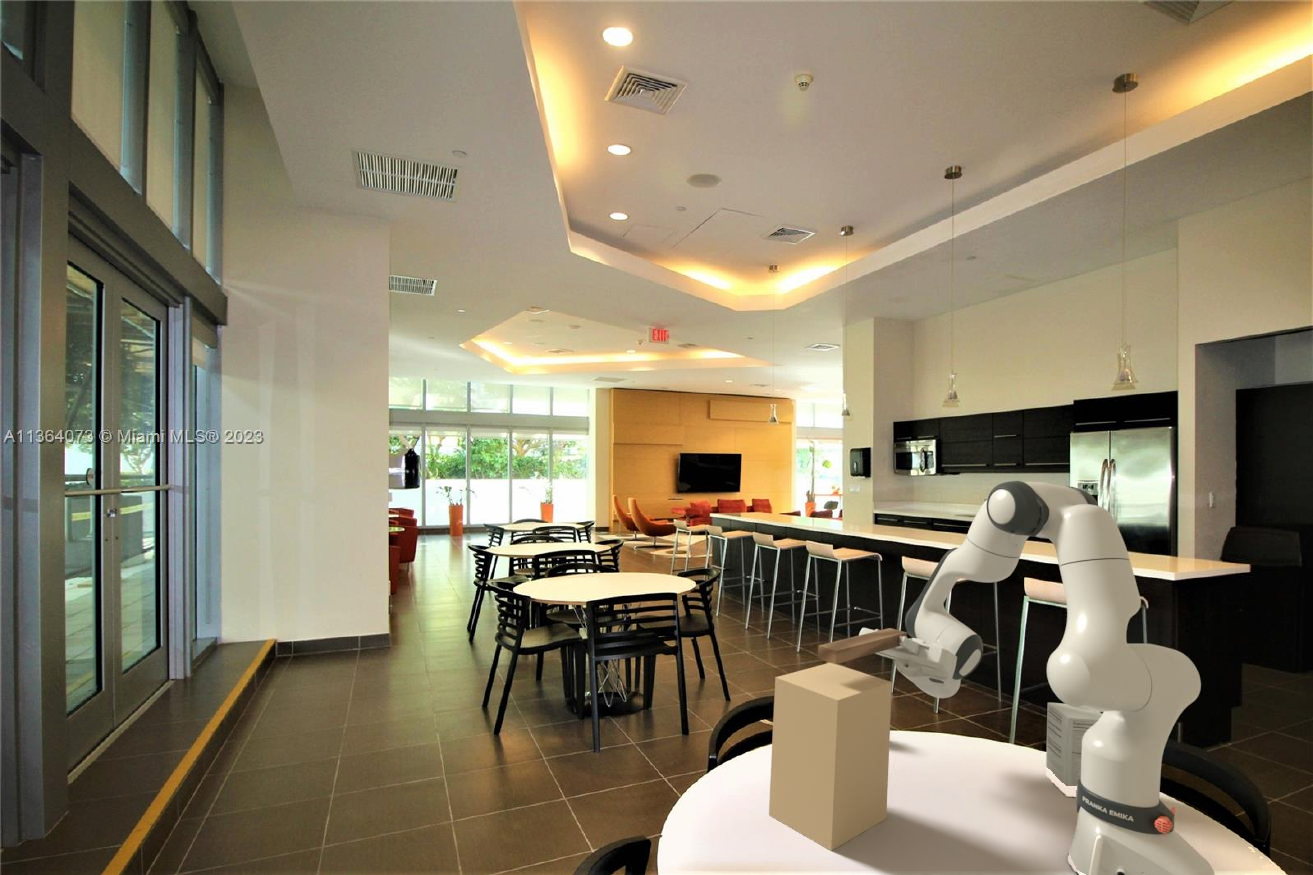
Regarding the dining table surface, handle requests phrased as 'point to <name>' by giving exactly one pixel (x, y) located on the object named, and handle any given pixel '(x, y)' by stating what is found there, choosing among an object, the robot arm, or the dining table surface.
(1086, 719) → the supplement box
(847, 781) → the carton
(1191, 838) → the dining table surface
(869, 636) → the slat
